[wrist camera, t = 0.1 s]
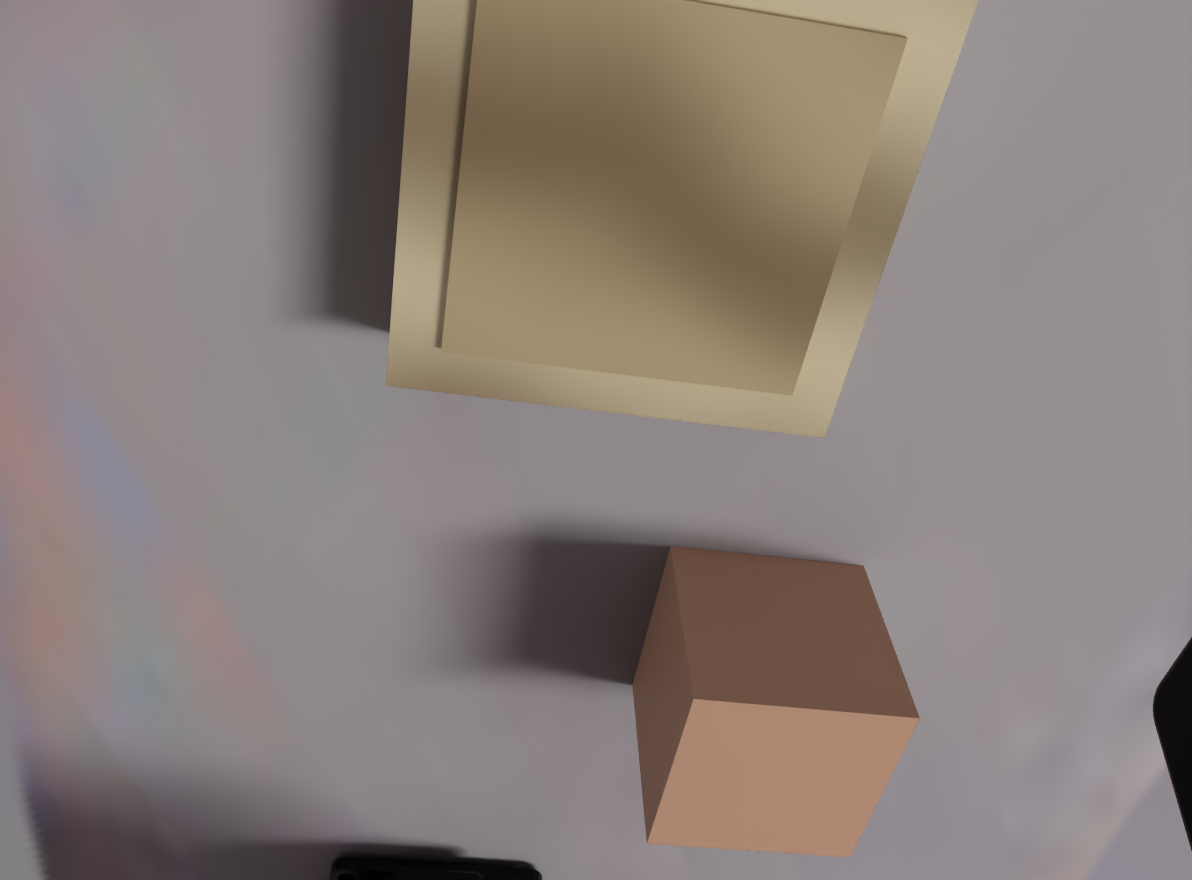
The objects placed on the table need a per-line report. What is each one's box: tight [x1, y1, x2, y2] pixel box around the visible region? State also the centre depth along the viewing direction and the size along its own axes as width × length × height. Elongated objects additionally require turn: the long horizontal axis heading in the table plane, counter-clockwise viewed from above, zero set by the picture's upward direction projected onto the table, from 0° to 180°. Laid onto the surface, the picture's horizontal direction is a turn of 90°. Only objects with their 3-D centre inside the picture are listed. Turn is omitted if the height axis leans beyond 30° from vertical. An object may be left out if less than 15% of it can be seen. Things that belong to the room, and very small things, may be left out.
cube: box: [633, 546, 920, 857], centre depth 26 cm, size 5×5×5 cm
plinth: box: [386, 0, 978, 438], centre depth 20 cm, size 9×9×2 cm
